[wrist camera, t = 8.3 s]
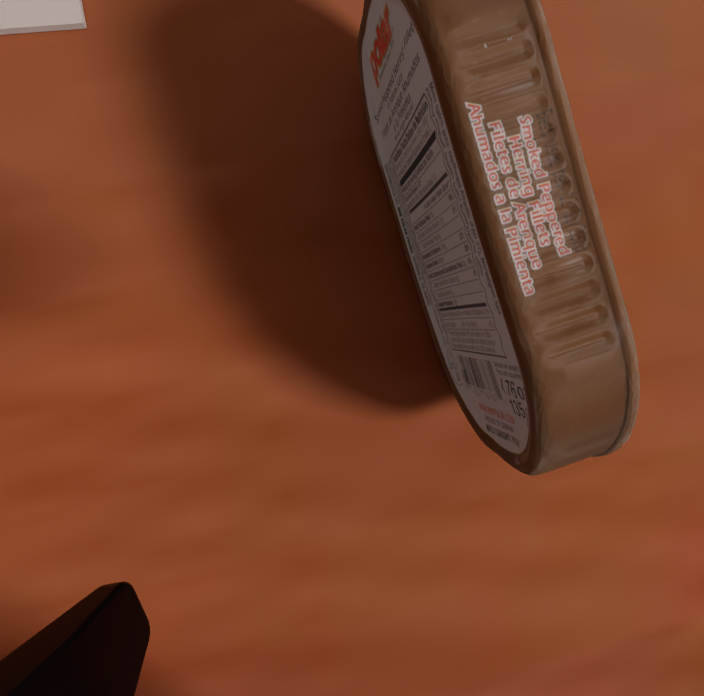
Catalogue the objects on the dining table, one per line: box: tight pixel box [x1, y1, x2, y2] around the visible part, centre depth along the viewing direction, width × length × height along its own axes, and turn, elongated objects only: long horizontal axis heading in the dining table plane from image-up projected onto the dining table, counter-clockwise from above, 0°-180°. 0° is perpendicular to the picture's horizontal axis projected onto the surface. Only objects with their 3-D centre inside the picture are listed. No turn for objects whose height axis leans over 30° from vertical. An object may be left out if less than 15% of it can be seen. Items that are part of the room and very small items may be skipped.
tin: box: [358, 0, 640, 475], centre depth 15 cm, size 15×3×8 cm, turn 18°
